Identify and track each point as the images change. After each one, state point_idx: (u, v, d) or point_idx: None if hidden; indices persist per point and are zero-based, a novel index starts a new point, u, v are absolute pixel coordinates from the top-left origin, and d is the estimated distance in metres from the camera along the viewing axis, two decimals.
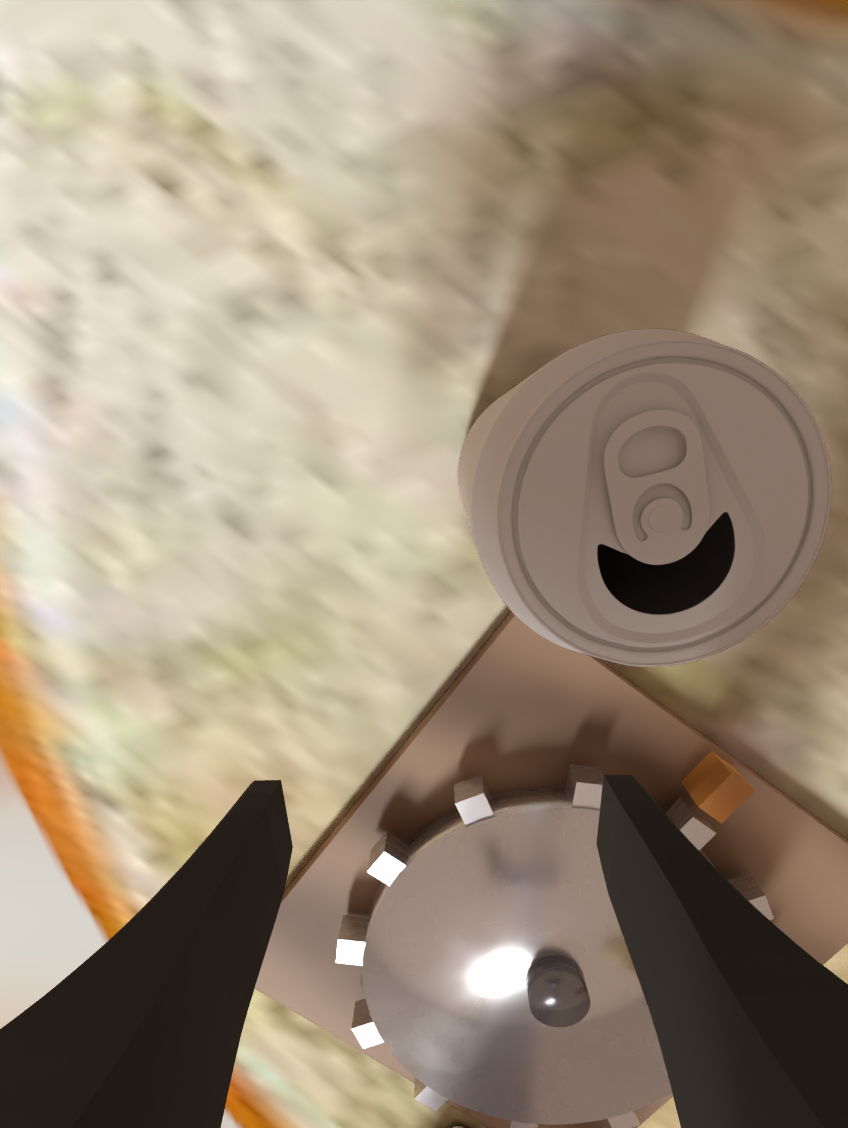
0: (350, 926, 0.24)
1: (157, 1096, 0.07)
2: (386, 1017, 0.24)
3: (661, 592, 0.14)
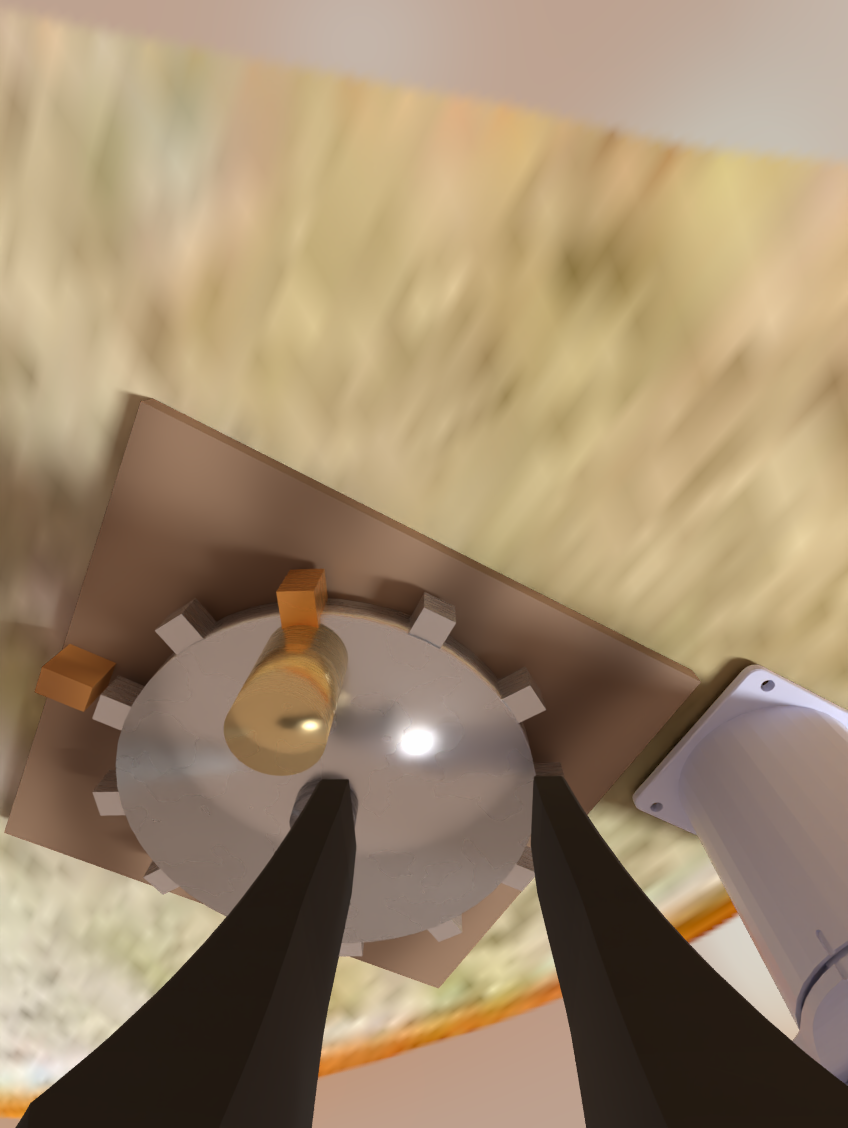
0: None
1: (271, 1097, 0.07)
2: (413, 922, 0.24)
3: None
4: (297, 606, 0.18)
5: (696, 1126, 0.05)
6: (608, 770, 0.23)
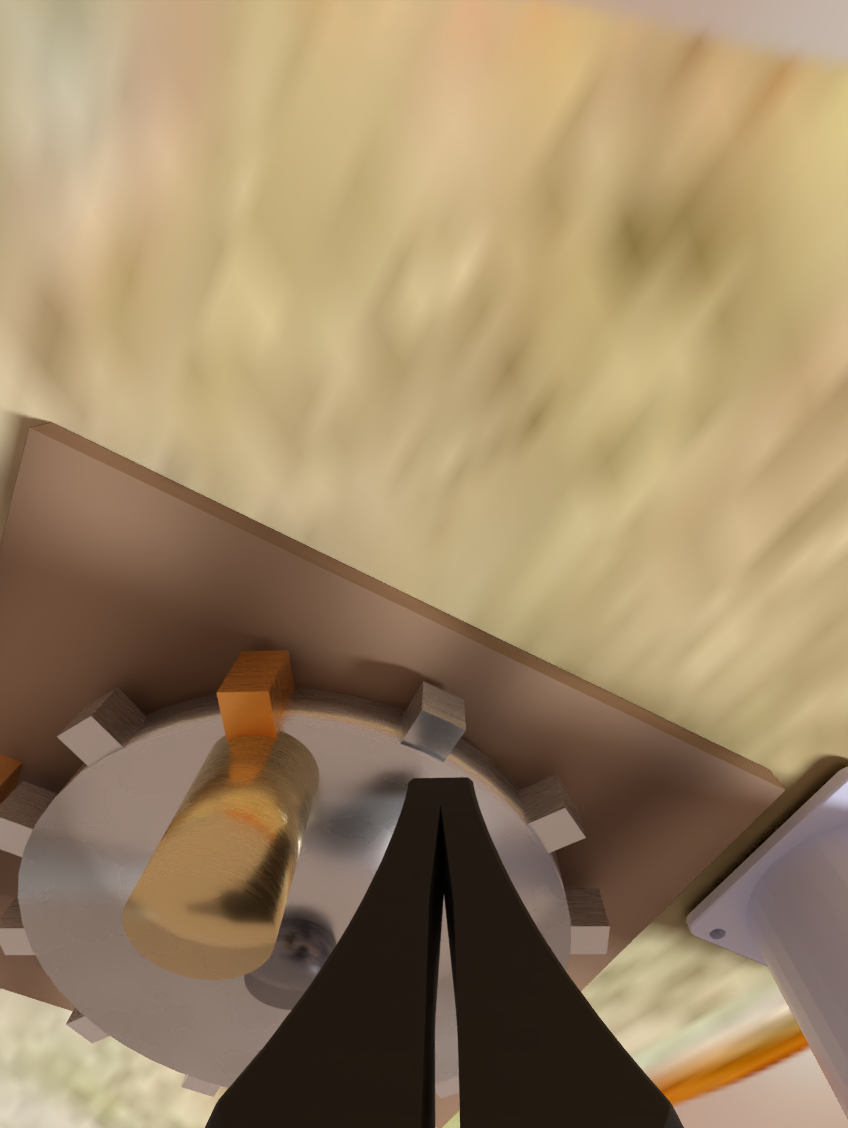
0: None
1: (427, 1097, 0.07)
2: None
3: None
4: (246, 711, 0.13)
5: (489, 1126, 0.05)
6: (658, 893, 0.18)
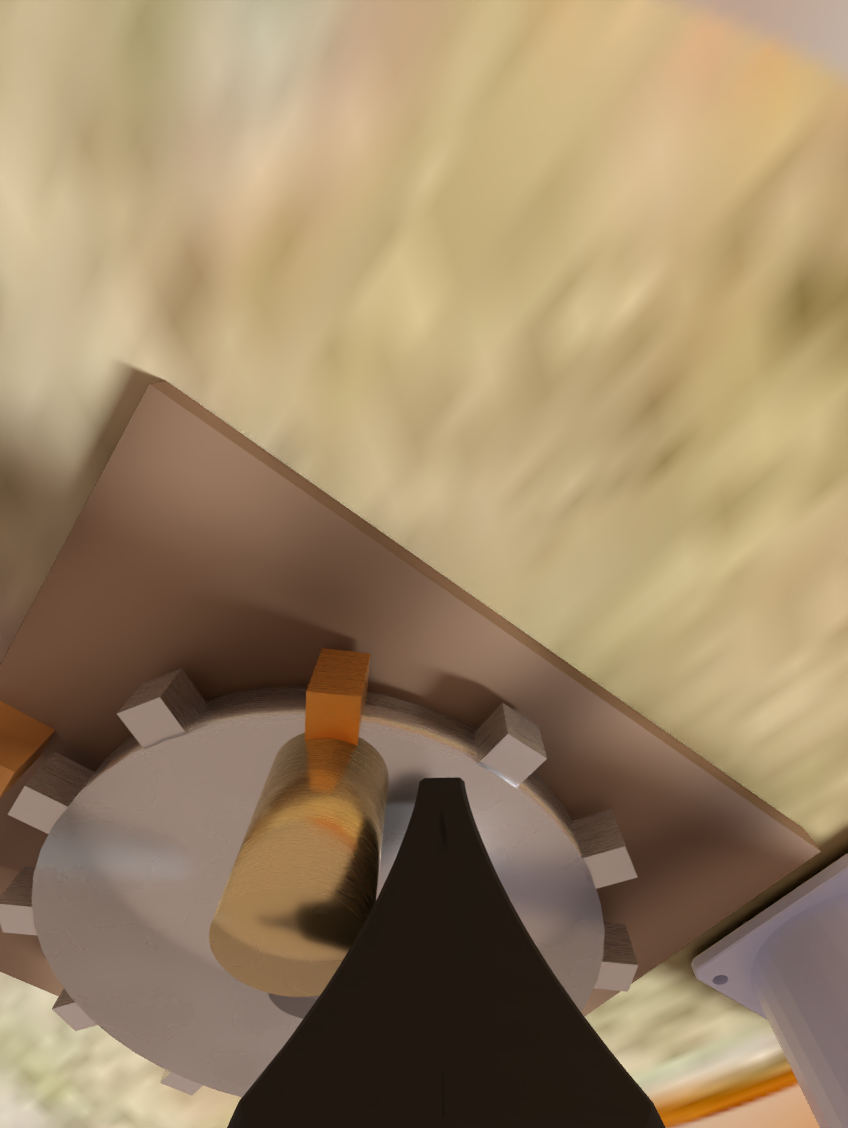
0: None
1: None
2: None
3: None
4: (333, 714, 0.12)
5: (469, 1126, 0.05)
6: (676, 935, 0.18)
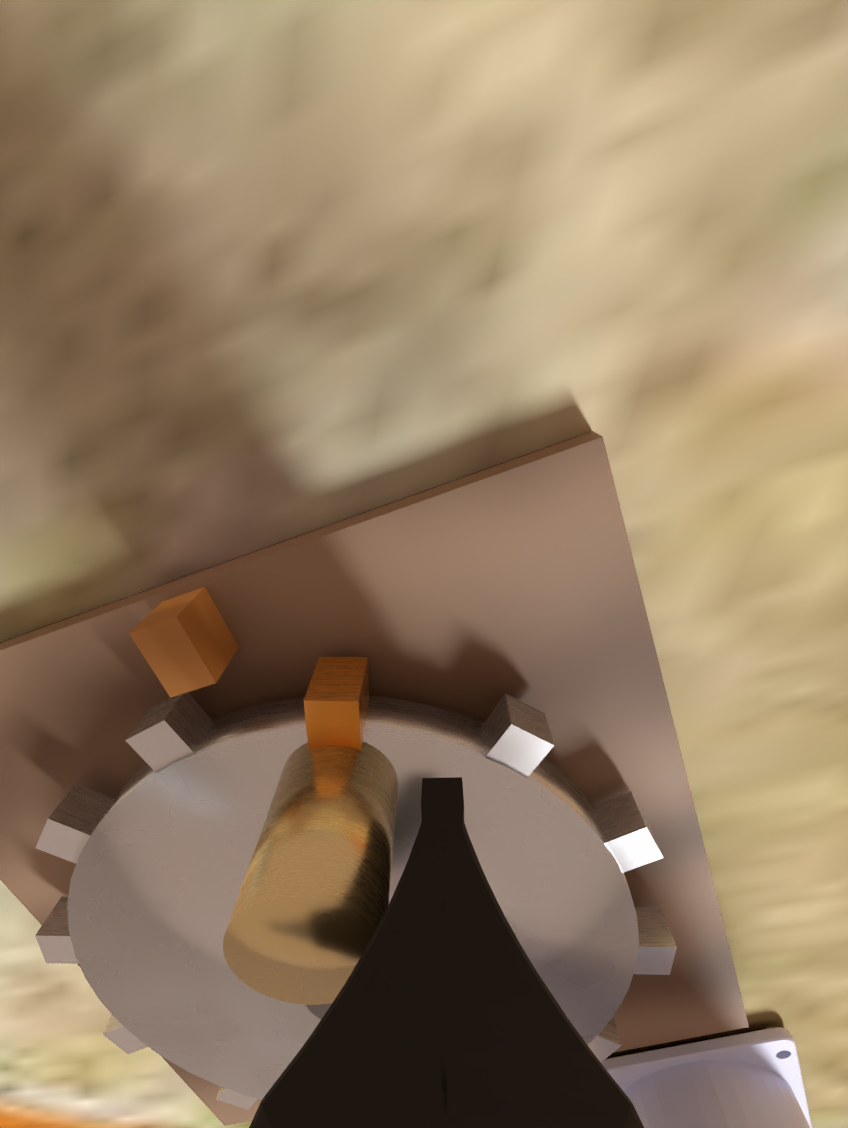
0: None
1: None
2: None
3: None
4: (332, 721, 0.12)
5: (449, 1125, 0.05)
6: None
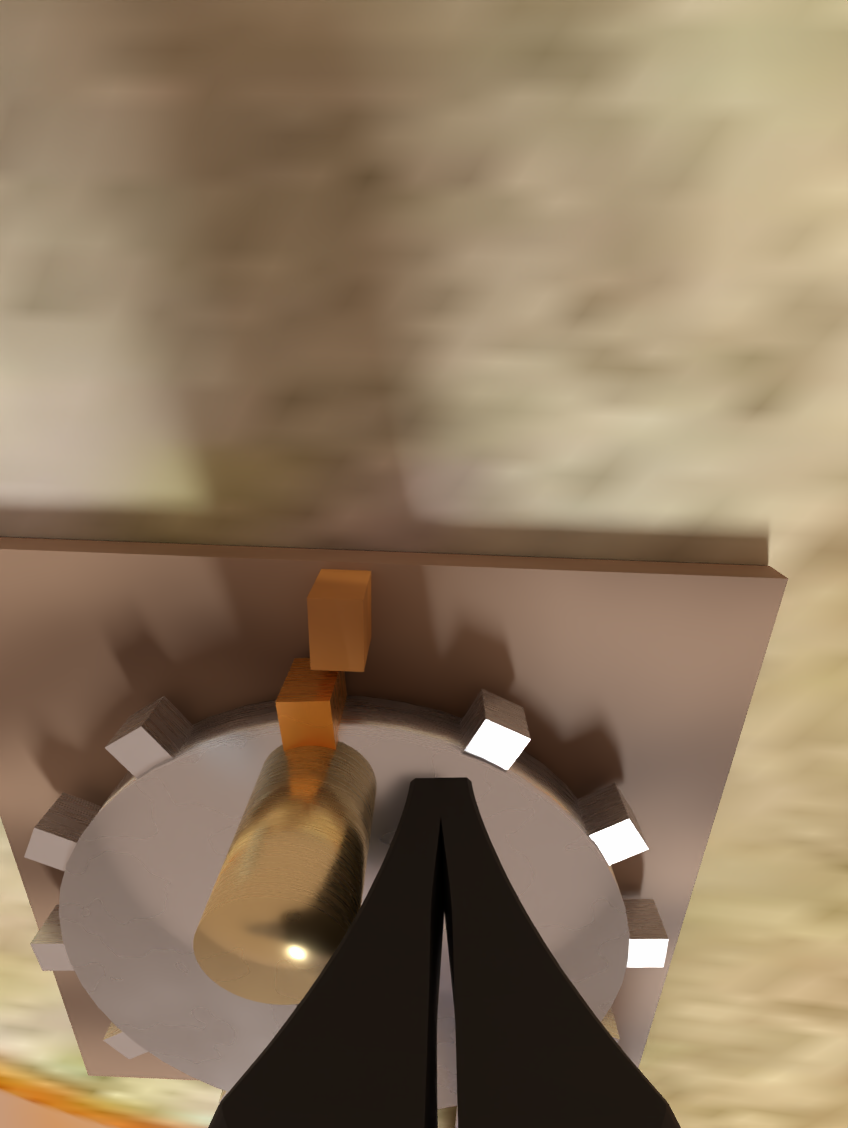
0: None
1: (430, 1097, 0.07)
2: (454, 1094, 0.18)
3: None
4: (306, 721, 0.12)
5: (486, 1126, 0.05)
6: None
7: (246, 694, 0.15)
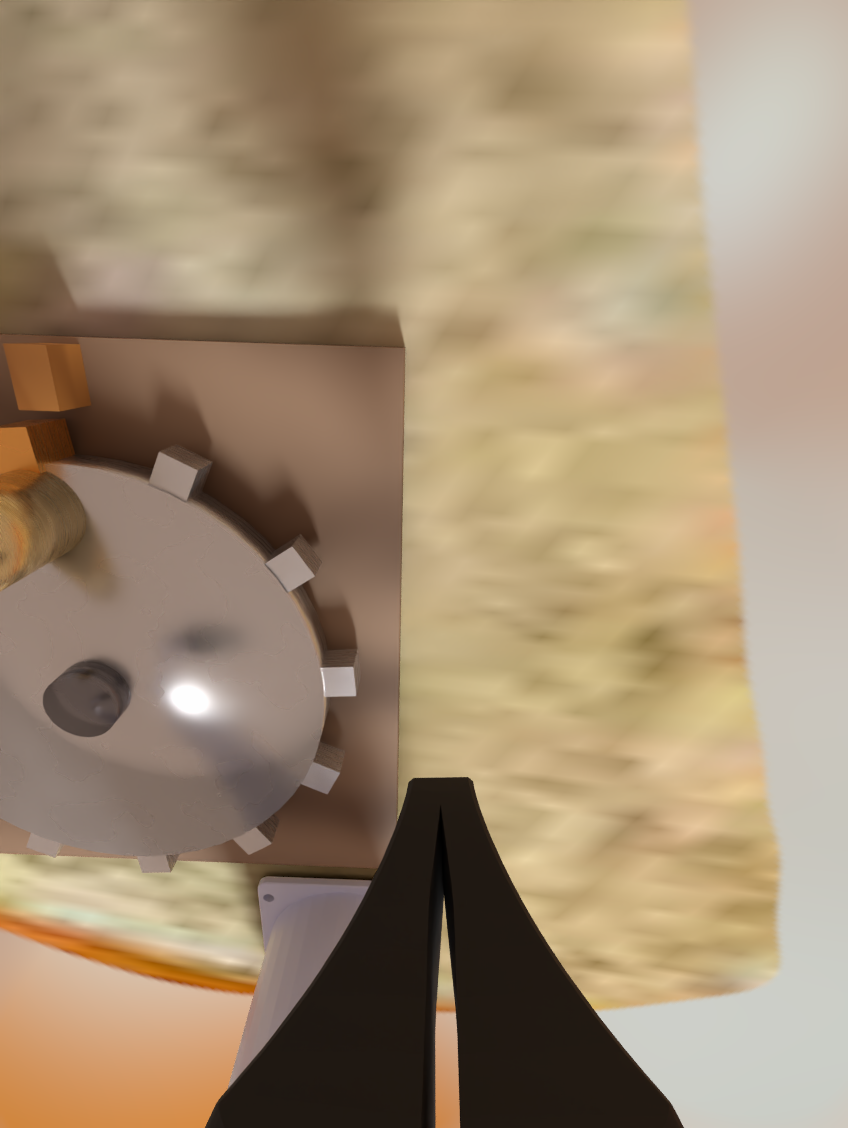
0: None
1: (427, 1097, 0.07)
2: (215, 831, 0.22)
3: None
4: (11, 446, 0.16)
5: (489, 1125, 0.05)
6: (279, 855, 0.25)
7: None
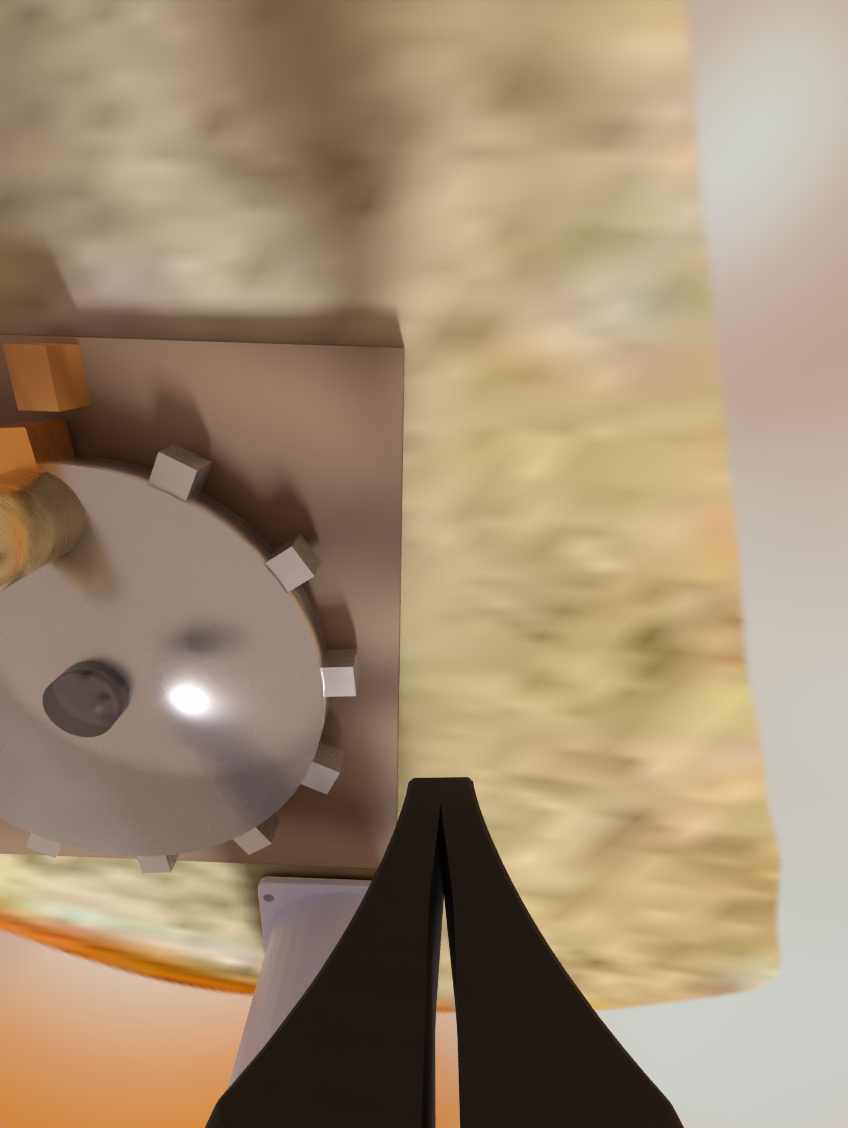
0: None
1: (427, 1097, 0.07)
2: (215, 831, 0.22)
3: None
4: (11, 447, 0.16)
5: (489, 1126, 0.05)
6: (279, 855, 0.25)
7: None
